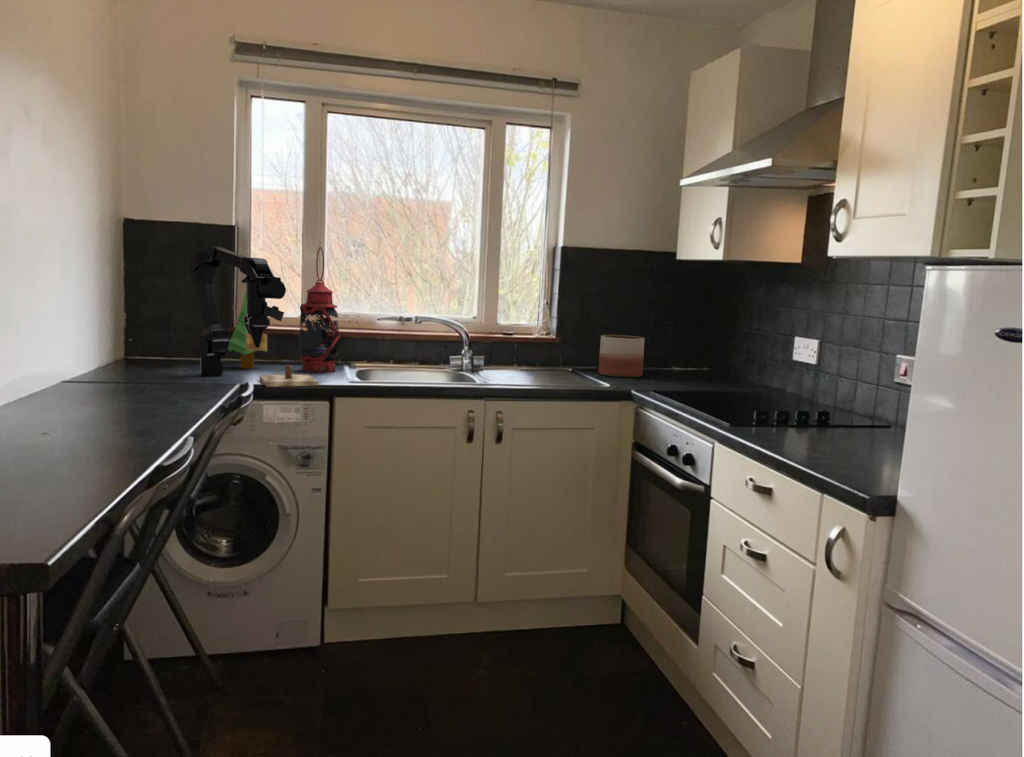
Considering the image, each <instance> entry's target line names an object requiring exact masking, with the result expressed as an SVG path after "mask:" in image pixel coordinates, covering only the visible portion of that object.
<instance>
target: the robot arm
mask: <svg viewBox="0 0 1024 757" xmlns="http://www.w3.org/2000/svg"><path fill="white" fill-rule="evenodd" d="M222 263H224V264H227V265H230V266H233V267H235V268H237V269H238V270H239V272H240V273H242V274H244V275H245V277H244V278H243V279H242V280H241V284H246V289H247V297H248V298H247V301H246V304H247V313H246V314H245V315H244V316H243V322H244V323H246V322H247V324H245V327H246V329H247V331H248V334H251V336H252V339H253V342H254V344H255V347H256V348H259V347H260V343H261V338H262V334H264V332H265V330H266V329H268V328H269V326H270V325H271V319H270V318H272V319H274V320H277V321H279V322H282V320H283V317H284V316H285V315H284V314H285V311H283V310H282V311H281V310H280V308H279V306H276V305H273V306H271V307H270V306H268V302H267V301H266V299H270V300H271V299H273V300H281V299H283V298H284V297H285V295H286V293H287V288H286V286H285V284H284V282H283V281H282V277H280V276H275V274H274V273H273V271H272V269H271V267H270V265H269V264H268V260H267V259H265V258H261V257H259V258H258V257H251V256H250V257H249V256H245V255H243V254H239V253H237V252H234V251H232V250H229V249H226V248H224V247H223V246H210V247H207V249H205V250H204V251H201V252H200V253H198V254H196V255H194V256H192V257H191V258H190V259H189V261H188V263H187V268H188V272H189V276H190V278H191V279H192V280H193V281H194V283H195V284H196V287H197V293H198V299H199V306H200V311H201V317H202V324H203V328H202V331H201V333H200V335H199V336H200V337H199V338H200V343H199V344H198V345H197V347H196V348H195V349H194V355H195V357H196V358H199V359H200V360H199V361H200V372H199V374H200V376H201V377H219V376H223V373H224V361H223V360H222V357H223V358H224V357H226V356H227V353H228V352H227V351H228V346H229V343H230V342H229V341H230V339H229V334H228V333H229V332H228V330H227V329H224V328H223V327H221V324H220V319H219V313H218V307H217V301H216V295H215V289H214V281H215V280H216V277H217V269H218V268H220V267H221V266H222V265H221V264H222ZM269 317H270V318H269Z"/></svg>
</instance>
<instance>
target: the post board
mask: <svg viewBox="0 0 1024 757" xmlns="http://www.w3.org/2000/svg"><path fill="white" fill-rule="evenodd" d="M284 369H285V370H284V371H285V374H263V375H262V374H260V375H259V377H258V378H259V381H260V382H261V381H262V382H263V383H264V384H263V383H262V382H261V383H262V384H263V385H264V386H265V387H269V388H272V387H274V388H275V387H317V386H319V385H320V384H319V383H320V382H319V380H318V379H316V378H314V376H312V375H310V374H293V366H292V365H290V364H289V365H285V368H284Z"/></svg>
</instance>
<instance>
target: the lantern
mask: <svg viewBox="0 0 1024 757" xmlns="http://www.w3.org/2000/svg"><path fill="white" fill-rule="evenodd" d="M320 251H321V254H322V255H321V256H322V271H321V276H320V277H319V270H318V268H319V267H318V266H319V265H318V264H319V262H318V261H319V253H320ZM324 269H325V256H324V249H323V248H322V247H321V246H320V247H318V250H317V254H316V276H317V280H316V282H315V284H314V285H313V286H312V287H311V288H309V289H307V290H306V291H305V292H306V293H307V296H306V303H301V304H300V306H299V310H300V315H299V316H300V318H299V319H300V320H299V328H300V329H299V342H298V352H299V357H300V358H299V359H300V361H301V362H302V365H301V366H302V368H301V369H302V371H303V370H304V371H303V372H305V371H306V372H305V373H313V372H320V373H334V372H336V360H335V359H336V358H337V357H338V356H339V350H337V349H339V348H338V346H339V339H340V337H341V331H340V330H339V323H338V320H332V318H335V319H337V318H339V314H338V312H337V310H336V308H338V306H337V305H336V304H334V302H333V293H334V292H333V291H332V290H331V289H329V288H328V287H327V286H326V285H325V282H324V281H323V277H324V271H325V270H324ZM310 316H311V317H315V318H314V320H313V319H311V320H310ZM331 317H332V318H331ZM304 330H305V331H306V332H305V331H304ZM328 332H329V333H328ZM333 332H334V333H336V334H333ZM332 334H333V335H332ZM332 340H333V341H332ZM325 346H326V347H325ZM328 347H329V348H328ZM320 373H319V374H320Z"/></svg>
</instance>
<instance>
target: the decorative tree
mask: <svg viewBox="0 0 1024 757" xmlns="http://www.w3.org/2000/svg"><path fill="white" fill-rule="evenodd" d="M247 298H248V297H247V288H246V290H245V292H244V297H243V300H242V304H241V307H240V314H239V317H238V318H237V323H236V325H235V327H234V331H233V333H232V335H231V338H230V339H229V342H228V343H229V346H228V349H227V351H228V352H233V351H235V352H237V353H239V354H240V369H254V367H255V366H254V365H255V363H254V362H255V356H254V355H255V352H256V351H247V350H246V349H245V334H248V331H247V329H246V327H245V324H247V322H246V323H244V322H243V316H244V315H245V314H246V313H247V304H246V301H247ZM263 352H264V353H268V350H267V351H263Z"/></svg>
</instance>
